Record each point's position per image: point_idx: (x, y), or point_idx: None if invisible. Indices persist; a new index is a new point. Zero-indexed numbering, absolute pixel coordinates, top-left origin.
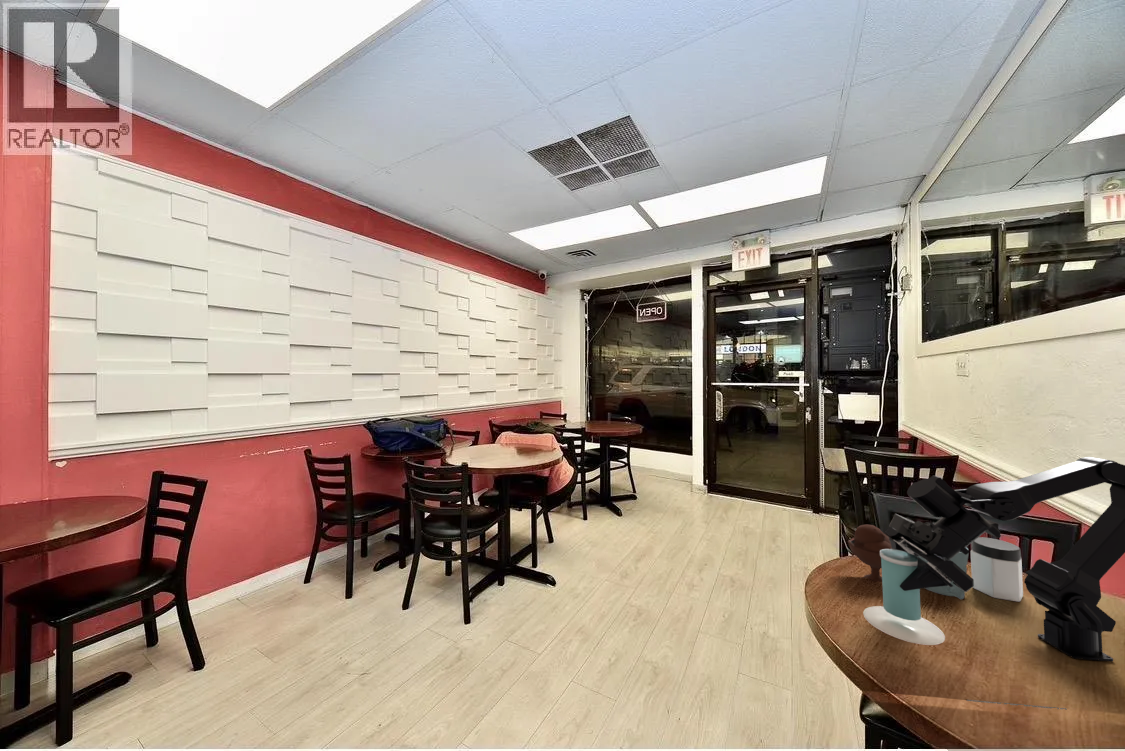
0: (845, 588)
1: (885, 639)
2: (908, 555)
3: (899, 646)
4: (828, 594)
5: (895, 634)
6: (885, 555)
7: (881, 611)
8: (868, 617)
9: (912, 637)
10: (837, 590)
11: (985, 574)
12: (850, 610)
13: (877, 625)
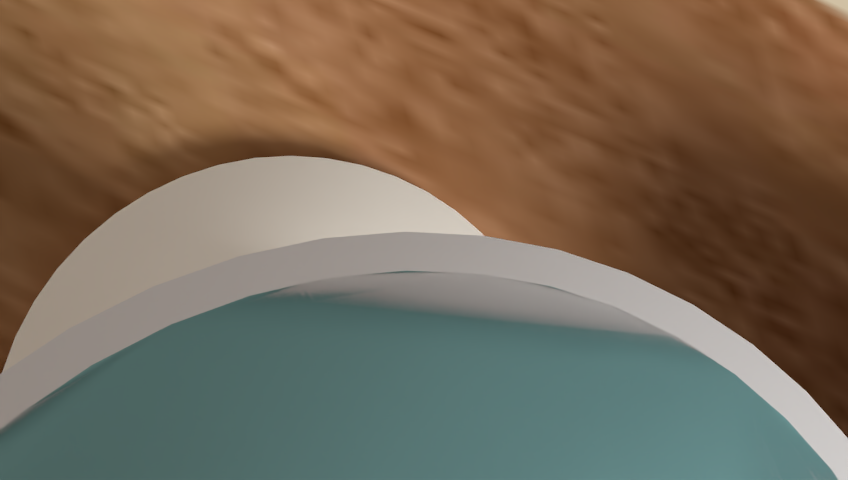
0: (829, 230)
1: (85, 217)
2: None
3: (4, 285)
4: (687, 49)
5: (94, 298)
6: (280, 327)
7: None
8: (327, 187)
9: None
10: (776, 150)
11: None
12: (476, 124)
13: (212, 209)
